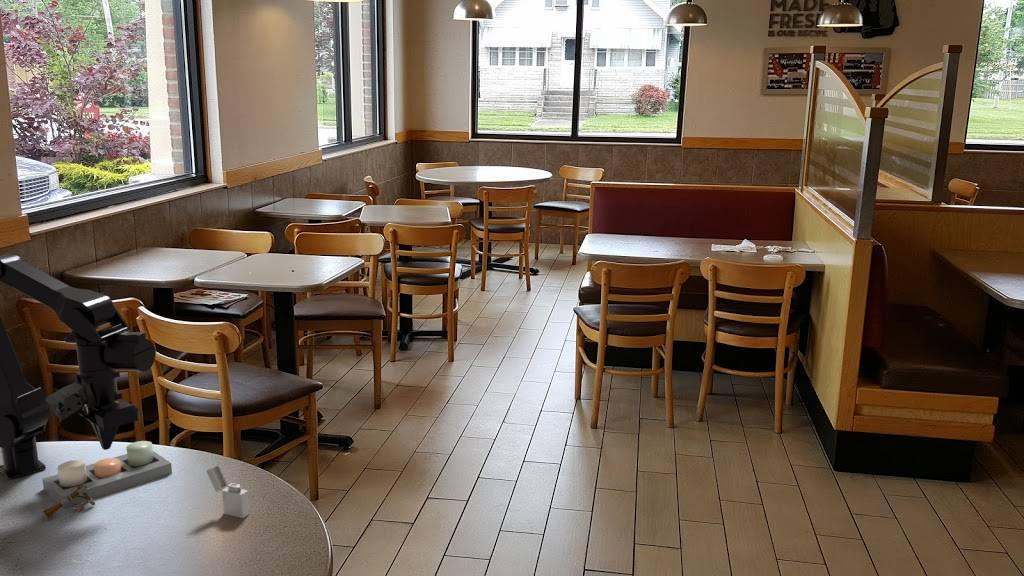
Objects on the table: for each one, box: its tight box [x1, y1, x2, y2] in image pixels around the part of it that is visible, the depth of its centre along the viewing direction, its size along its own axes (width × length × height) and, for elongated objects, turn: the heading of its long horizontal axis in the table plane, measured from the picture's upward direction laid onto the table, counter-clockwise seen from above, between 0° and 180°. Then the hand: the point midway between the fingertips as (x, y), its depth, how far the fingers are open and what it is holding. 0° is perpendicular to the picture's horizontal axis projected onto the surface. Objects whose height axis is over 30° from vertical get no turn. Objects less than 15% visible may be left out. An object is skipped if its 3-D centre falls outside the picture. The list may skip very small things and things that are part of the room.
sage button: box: [126, 440, 154, 467], centre depth 162 cm, size 4×4×3 cm
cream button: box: [57, 459, 87, 488], centre depth 154 cm, size 4×4×3 cm
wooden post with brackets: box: [39, 483, 96, 522], centre depth 147 cm, size 2×8×4 cm, turn 128°
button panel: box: [41, 450, 173, 508], centre depth 159 cm, size 10×19×2 cm, turn 136°
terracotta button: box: [93, 457, 122, 479], centre depth 159 cm, size 4×4×3 cm
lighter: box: [206, 464, 250, 519], centre depth 147 cm, size 7×2×8 cm, turn 67°
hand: (106, 448), depth 158 cm, fingers closed
